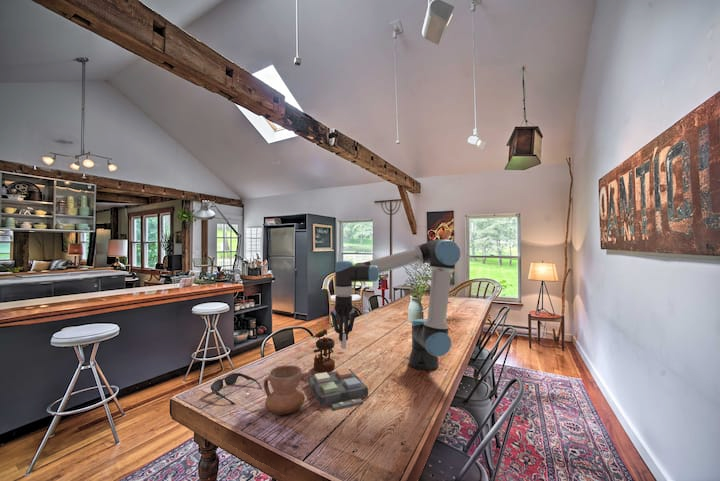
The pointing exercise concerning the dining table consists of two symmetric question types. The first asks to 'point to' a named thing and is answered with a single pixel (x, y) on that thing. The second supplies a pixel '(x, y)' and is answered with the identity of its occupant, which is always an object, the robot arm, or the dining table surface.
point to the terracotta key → (343, 373)
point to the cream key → (322, 377)
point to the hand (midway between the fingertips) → (343, 347)
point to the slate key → (352, 383)
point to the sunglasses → (229, 383)
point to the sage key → (329, 387)
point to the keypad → (342, 392)
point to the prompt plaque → (346, 403)
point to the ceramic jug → (284, 390)
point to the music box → (323, 344)
